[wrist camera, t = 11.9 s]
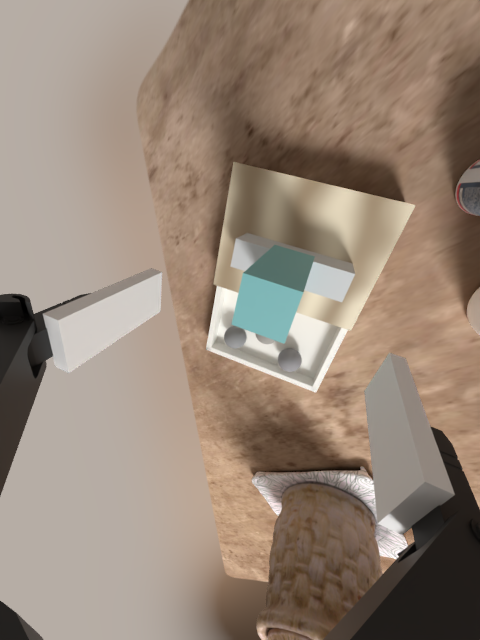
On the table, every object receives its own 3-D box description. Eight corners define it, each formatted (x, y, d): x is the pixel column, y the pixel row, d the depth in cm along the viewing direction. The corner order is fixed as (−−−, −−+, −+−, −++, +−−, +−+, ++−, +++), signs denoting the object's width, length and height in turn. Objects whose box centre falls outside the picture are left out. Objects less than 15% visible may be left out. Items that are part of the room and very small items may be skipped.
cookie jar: (249, 469, 55) (166, 736, 28) (369, 462, 44) (423, 907, 16) (297, 540, 61) (267, 816, 34) (414, 551, 50) (508, 982, 23)
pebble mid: (282, 318, 35) (275, 337, 33) (282, 332, 38) (275, 351, 36) (258, 313, 36) (250, 331, 34) (260, 327, 39) (252, 345, 37)
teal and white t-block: (354, 259, 27) (369, 313, 15) (339, 293, 29) (342, 364, 17) (248, 228, 29) (187, 254, 17) (241, 262, 31) (182, 306, 19)
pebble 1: (235, 344, 35) (239, 356, 38) (249, 326, 37) (252, 339, 39) (216, 334, 37) (222, 346, 40) (230, 318, 38) (235, 330, 41)
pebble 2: (298, 372, 34) (295, 378, 37) (306, 350, 36) (303, 358, 39) (274, 361, 35) (273, 368, 38) (283, 340, 36) (282, 349, 39)
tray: (349, 316, 34) (350, 325, 32) (317, 381, 40) (315, 392, 38) (224, 275, 37) (217, 280, 35) (212, 341, 43) (206, 349, 41)
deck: (405, 203, 27) (415, 205, 23) (349, 316, 34) (350, 330, 30) (245, 164, 30) (233, 161, 26) (224, 275, 37) (213, 284, 33)
